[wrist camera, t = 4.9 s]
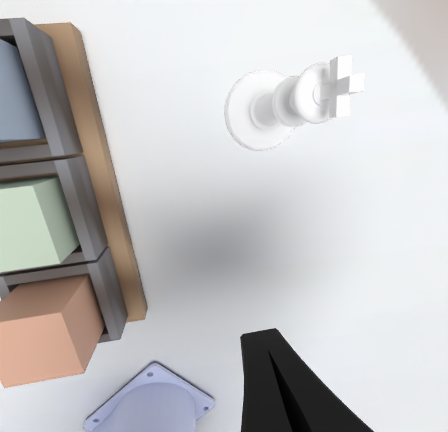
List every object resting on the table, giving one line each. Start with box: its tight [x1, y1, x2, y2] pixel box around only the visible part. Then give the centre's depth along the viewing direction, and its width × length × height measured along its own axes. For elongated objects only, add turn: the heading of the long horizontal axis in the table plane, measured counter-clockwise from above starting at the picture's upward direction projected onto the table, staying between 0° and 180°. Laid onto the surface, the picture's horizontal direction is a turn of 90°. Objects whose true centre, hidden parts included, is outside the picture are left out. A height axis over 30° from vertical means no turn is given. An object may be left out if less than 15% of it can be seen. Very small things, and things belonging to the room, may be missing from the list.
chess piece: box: [225, 55, 364, 151], centre depth 12 cm, size 5×5×10 cm
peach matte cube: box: [0, 274, 105, 388], centre depth 14 cm, size 4×4×4 cm
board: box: [0, 18, 147, 343], centre depth 15 cm, size 19×8×4 cm, turn 6°
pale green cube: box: [0, 175, 80, 272], centre depth 13 cm, size 4×4×4 cm
